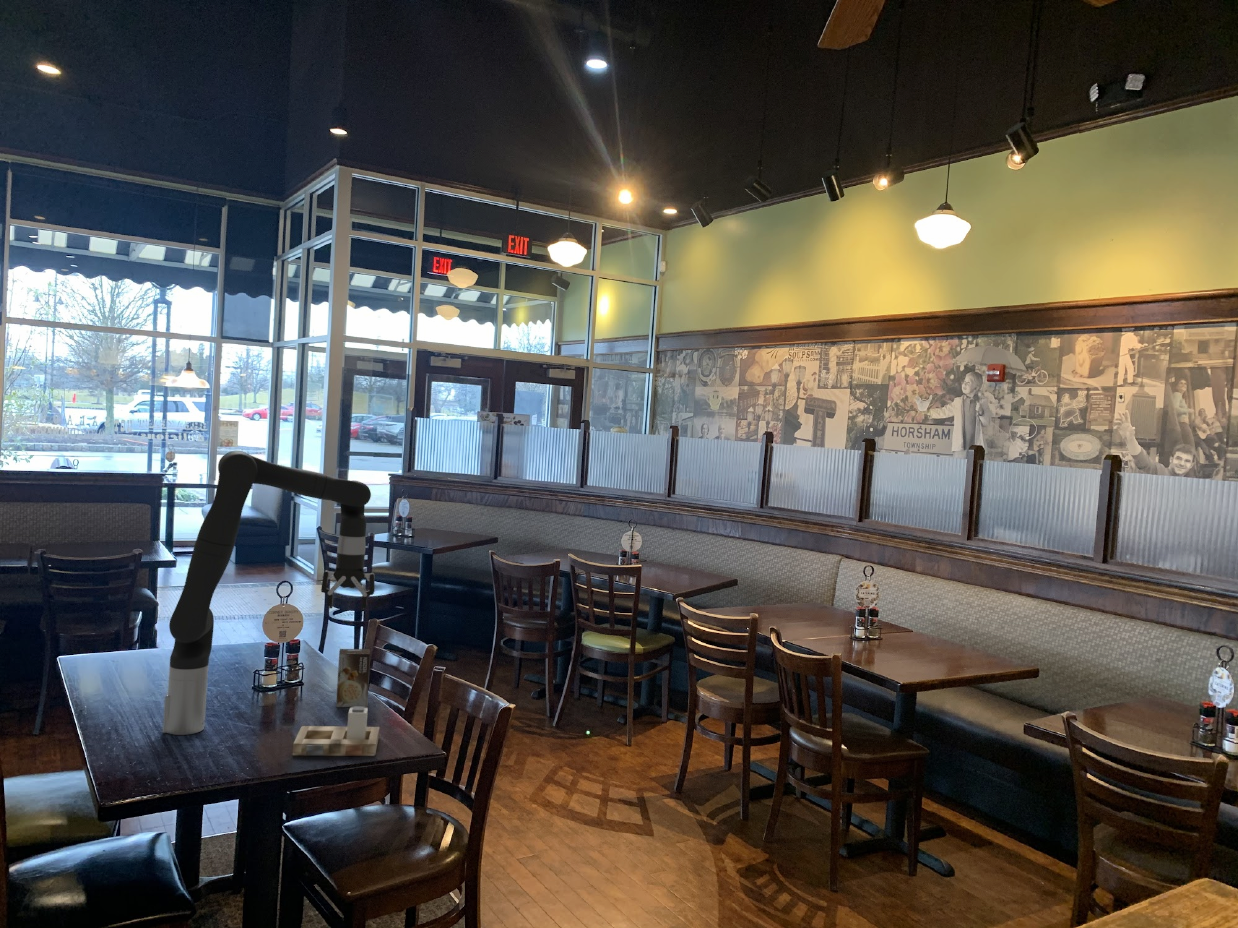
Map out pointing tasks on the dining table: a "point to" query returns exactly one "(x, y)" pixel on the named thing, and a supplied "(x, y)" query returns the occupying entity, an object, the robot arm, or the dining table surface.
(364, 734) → the white tall rectangular block
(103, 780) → the dining table surface
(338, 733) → the socket board
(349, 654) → the coffee box
